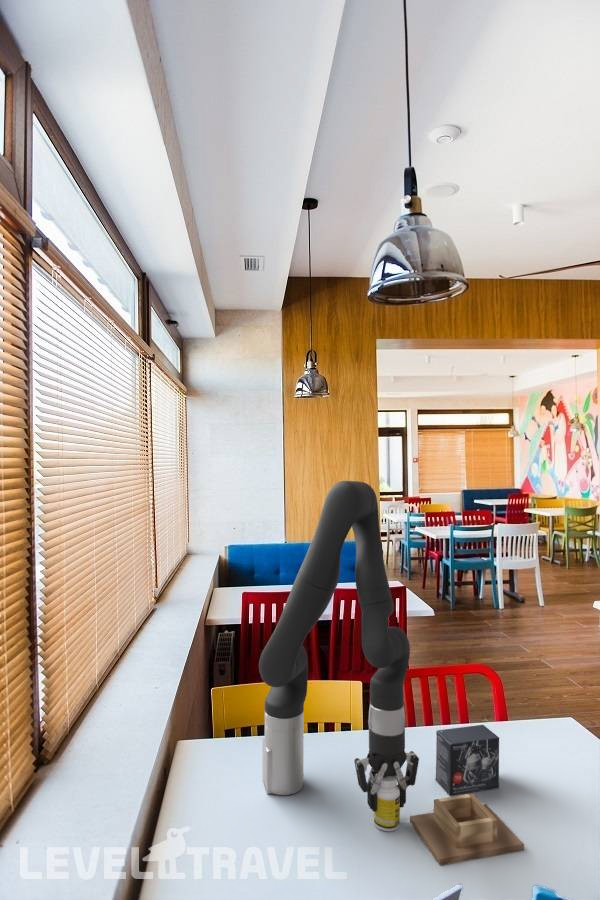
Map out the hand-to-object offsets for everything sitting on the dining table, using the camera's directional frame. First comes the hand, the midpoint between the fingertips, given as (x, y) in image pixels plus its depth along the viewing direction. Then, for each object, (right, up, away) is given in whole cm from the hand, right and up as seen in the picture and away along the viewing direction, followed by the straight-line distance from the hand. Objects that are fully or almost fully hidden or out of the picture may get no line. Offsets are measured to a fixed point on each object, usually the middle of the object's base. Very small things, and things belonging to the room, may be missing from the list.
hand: (386, 806), depth 116 cm
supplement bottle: (0, -4, 0) cm, 4 cm away
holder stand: (+15, -3, -4) cm, 16 cm away
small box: (+21, -4, +14) cm, 26 cm away
